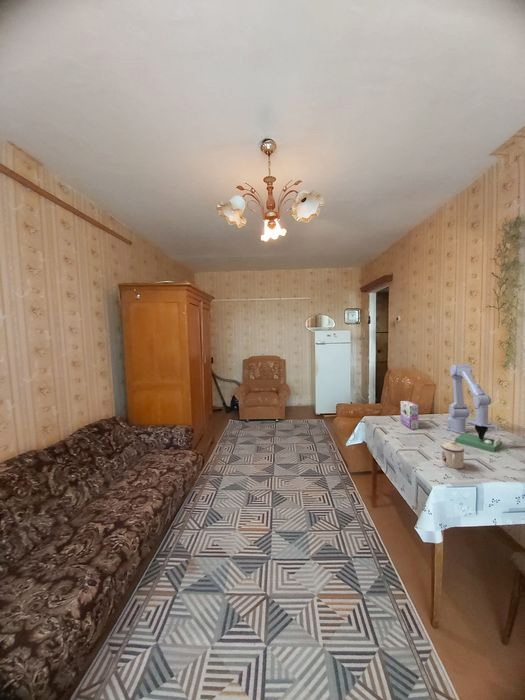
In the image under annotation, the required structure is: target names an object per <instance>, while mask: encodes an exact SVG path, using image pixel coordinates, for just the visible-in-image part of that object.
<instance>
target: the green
mask: <svg viewBox="0 0 525 700" xmlns="http://www.w3.org/2000/svg"><path fill="white" fill-rule="evenodd" d="M485 440H490V441H491V442H492V444H488V443H485V442H484V441H485ZM454 442H455V443H456V444H459V445H460V444H462V445H464V446H469V447H473V448H477V449H480V450H484V451H486V452H487V451H488V452H492V453H495V452H496V451H498V450H500V449H501V447H503V441H502V440H501V437H498V438H496V439H493V438H490V437H485V436H484V439H483V440H481V439H479V435H476V434H473V433H468V432H466V433H463V434H462V433H461V434H459V435H458V436H456V437H455V438H454Z"/></svg>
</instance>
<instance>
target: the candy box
mask: <svg viewBox="0 0 525 700" xmlns="http://www.w3.org/2000/svg"><path fill="white" fill-rule="evenodd" d="M399 404H400V424H401V423H402V425H403V424H404V425H403V426H405V428H407V429H409V430H419V429H420V428H419V404H416V403H414V402H411V401H409V400H400V403H399Z"/></svg>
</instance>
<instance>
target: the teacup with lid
mask: <svg viewBox="0 0 525 700" xmlns="http://www.w3.org/2000/svg"><path fill="white" fill-rule="evenodd" d="M441 448H442V449H441V450H442V451H441V452H442V453H441V455H442V459H441V461H442V464H443V466H446V467H448V468H452V469H462V468H464V464H465V463H464V460H465V459H464V457H465V456H464V455H465V454H464V451H465V449H464V446H462V445H460V444H459V443H457V442H455V440H450V441H449V442H445V443H442V445H441Z"/></svg>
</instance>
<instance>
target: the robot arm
mask: <svg viewBox="0 0 525 700" xmlns="http://www.w3.org/2000/svg"><path fill="white" fill-rule="evenodd" d="M472 373H473V369H472V366H471V365H470V364H468V363H467V364H451V366H450V367H449V374H450V378H452V391H453V402H452V403H451V404H449V406H448V407H449V408H448V414H449V416H448V417H447V429H446V431H450V432H454V433H459V434H461V435H462V434H463V433H468V432H469V430H467V428H466V427H467V425H471V426H474V429H475V431H476V432H477V434H478V435H477V436H479V439H481V440H483V439H484V437H485V435H486V433H487V431H488V429H491V430H495V431H498V430H499V425H495V424H492V423H489V405H491V403H492V399H491V396H490V395H489V394H487V393H486V392H484V390H483V388H482V386H481V385H480V384H478V383H476V381H475V378H474V376H473V374H472ZM463 379H464V380H465V381H466V384H468V390H469V392H470V394H471V396H472V397H473V398H472V401H473V404H474V405H473V407H474V408H475V409H474V410H475V411H474V412H475V413H474V415H475V416H474V417H475V418H474V419H475V420H469V419H468V418H469V416H470V410H469V406H468V405H467V404H465V403H464V389H463ZM466 419H467V420H466Z"/></svg>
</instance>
